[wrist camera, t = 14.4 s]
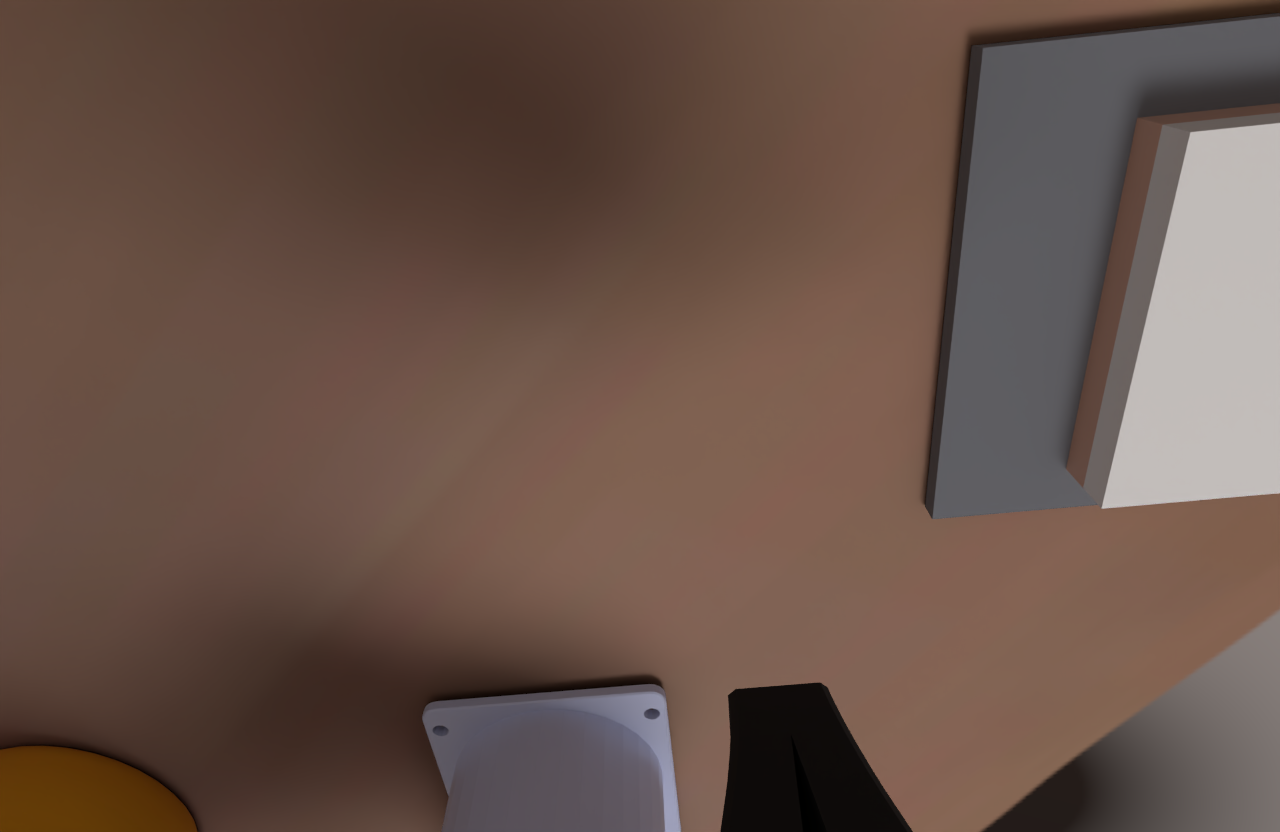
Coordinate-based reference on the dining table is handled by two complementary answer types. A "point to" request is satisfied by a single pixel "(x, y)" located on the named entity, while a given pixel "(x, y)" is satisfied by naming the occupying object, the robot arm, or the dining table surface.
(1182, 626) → the dining table surface
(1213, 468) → the tile
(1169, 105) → the mat
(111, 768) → the beer bottle
